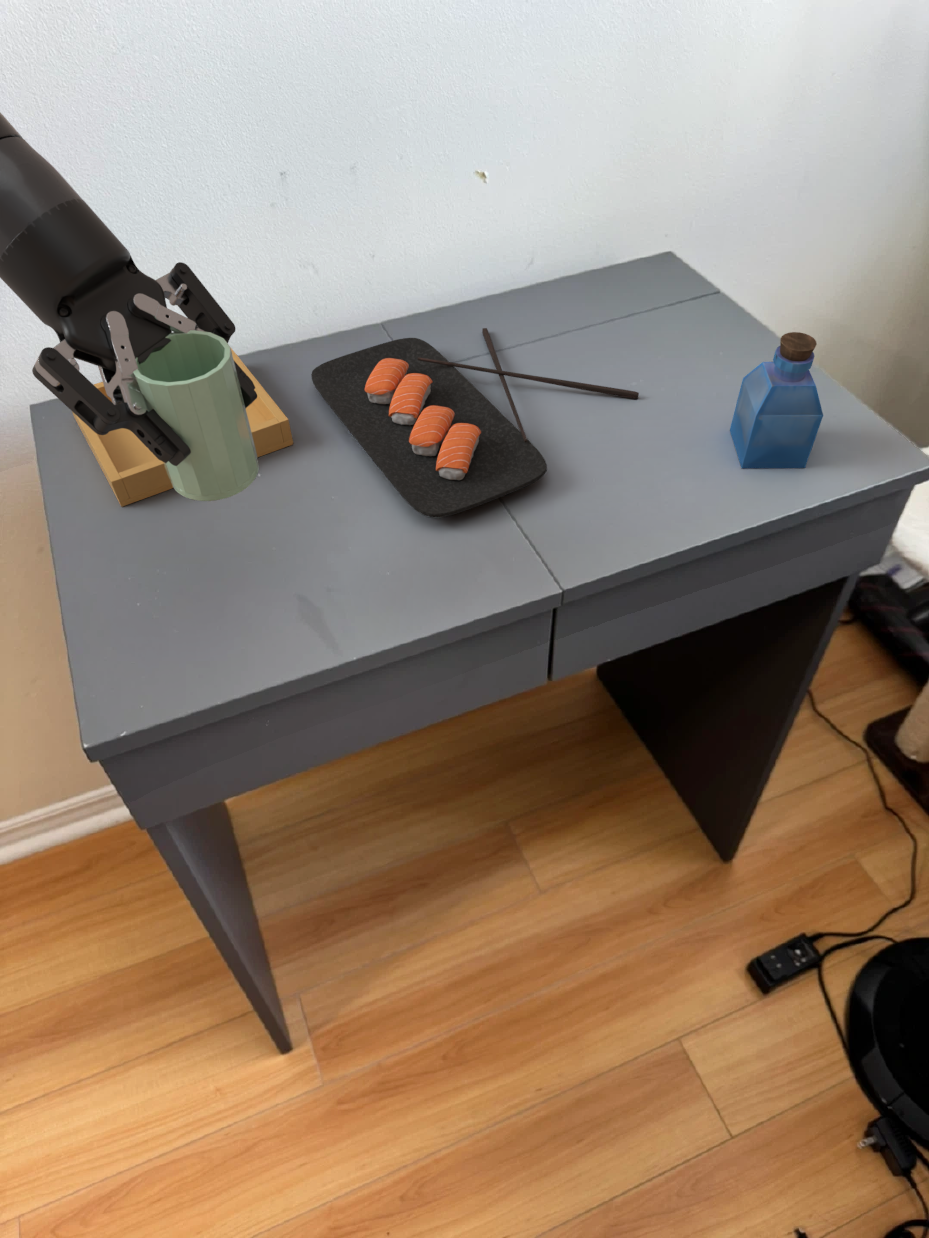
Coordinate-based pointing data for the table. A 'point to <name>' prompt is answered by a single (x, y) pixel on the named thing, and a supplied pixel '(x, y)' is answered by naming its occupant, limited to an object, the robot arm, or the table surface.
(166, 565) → the table surface
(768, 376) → the perfume bottle
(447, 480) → the sushi plate
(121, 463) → the tray
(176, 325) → the robot arm
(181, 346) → the teacup
